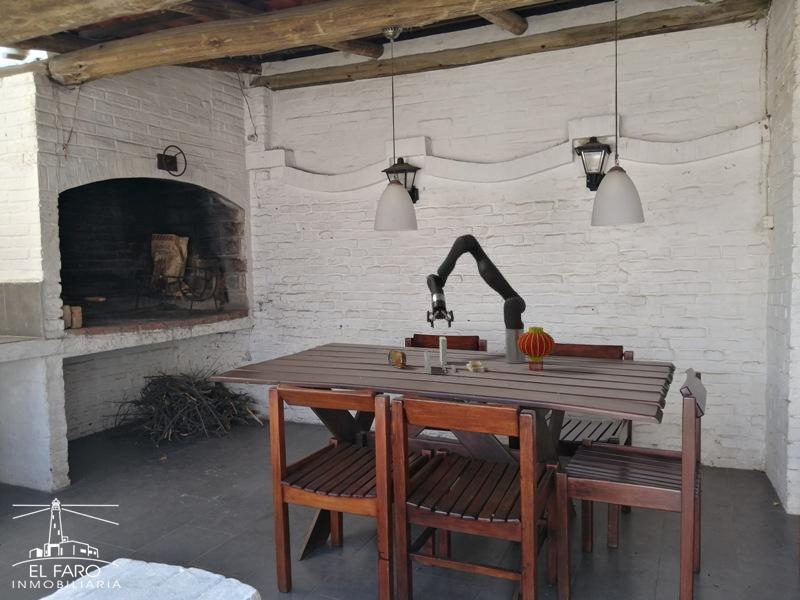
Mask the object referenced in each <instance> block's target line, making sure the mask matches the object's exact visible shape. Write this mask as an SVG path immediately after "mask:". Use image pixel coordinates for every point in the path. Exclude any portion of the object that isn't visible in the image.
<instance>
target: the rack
mask: <svg viewBox="0 0 800 600" xmlns="http://www.w3.org/2000/svg"><path fill="white" fill-rule="evenodd" d="M423 352H424V353H423V354H424V360H423V361H424V362H423V363H424V370H425V369H426V370H425V371H427V372H426V374H427V373H428V374H427V375H432V358H431V355H430V353H429V351H426V350H425V351H423ZM440 366H441V367H440V368H442V369H441V370H442V372H443V371H444V372H446V373H447V368H446V367H445V365H442V364H441V365H440ZM451 368H452V369H451ZM450 369H451V370H452V372H453V371H454V372H453V373H457V368H456V367H455V366H454V364H450ZM444 372H443V373H444Z"/></svg>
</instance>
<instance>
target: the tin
mask: <svg viewBox="0 0 800 600" xmlns="http://www.w3.org/2000/svg"><path fill="white" fill-rule="evenodd" d="M387 357H388V363H389V366H390V365H394V366H397V367H400V368H399V369H404V368H406V365H407V355H406V353H405V352H404V351H401V350H397V349H390V350H389V353H388V356H387Z"/></svg>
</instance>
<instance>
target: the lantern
mask: <svg viewBox="0 0 800 600" xmlns="http://www.w3.org/2000/svg"><path fill="white" fill-rule="evenodd" d="M517 345H518V348H519V350H520V351H521V352H522V353H523V354H524V355H525V357H528V359H529V361H528V366H529V367H528V370H529V371H532V370H534V371H535V372H539V371H540V372H541V371H543V370H544V364H543V363H544V360H543V359H544V357H547V356H548V355H549V354H552V352H553V351H554V349H555V347H556V346H555V345H556V342H555V340H554V338H553V336H552V335H550V334H549V333H547V332H545V331H544V327H539V326H532V327H531V326H530V327H528V331H527V332H524V334H523V335H521V336H520V338H519V339H518V342H517Z"/></svg>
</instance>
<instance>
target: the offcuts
mask: <svg viewBox="0 0 800 600" xmlns="http://www.w3.org/2000/svg"><path fill="white" fill-rule="evenodd" d="M465 367H466V368H467V369H468V370H469V372H470V373H472V372H476V373H485V368H484V366H483V364H482V363H481V361H480V360H469V361H468V363H466V366H465Z"/></svg>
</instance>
